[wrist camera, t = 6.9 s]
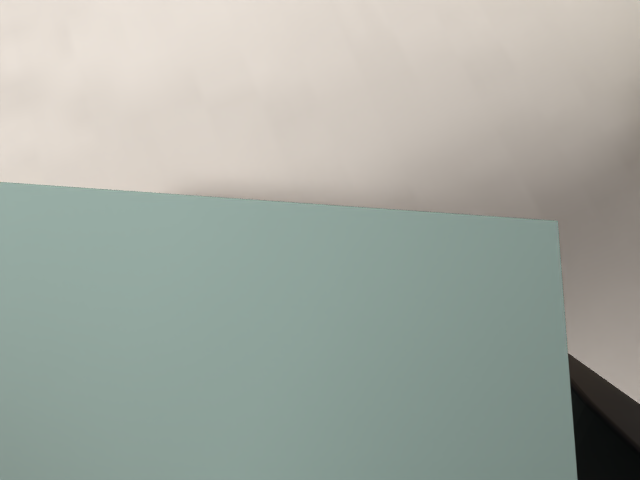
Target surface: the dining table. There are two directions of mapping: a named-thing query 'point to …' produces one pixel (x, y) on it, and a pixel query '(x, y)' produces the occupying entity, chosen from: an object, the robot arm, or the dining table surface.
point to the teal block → (277, 341)
